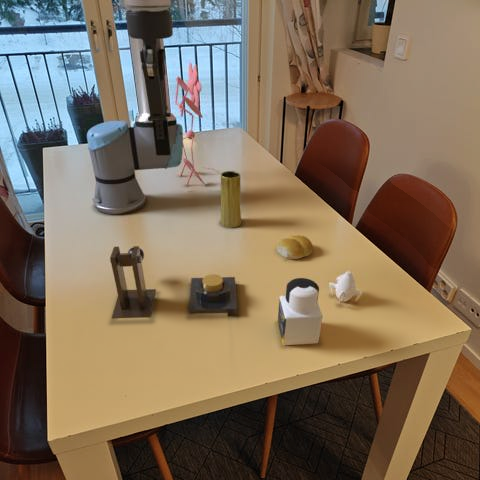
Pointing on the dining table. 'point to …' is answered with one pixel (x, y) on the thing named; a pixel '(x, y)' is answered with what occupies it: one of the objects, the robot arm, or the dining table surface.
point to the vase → (230, 199)
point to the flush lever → (128, 258)
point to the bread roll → (295, 247)
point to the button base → (213, 298)
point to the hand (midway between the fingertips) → (163, 153)
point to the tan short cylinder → (212, 283)
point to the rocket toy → (345, 287)
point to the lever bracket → (131, 300)
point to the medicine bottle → (300, 313)
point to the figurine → (194, 90)
